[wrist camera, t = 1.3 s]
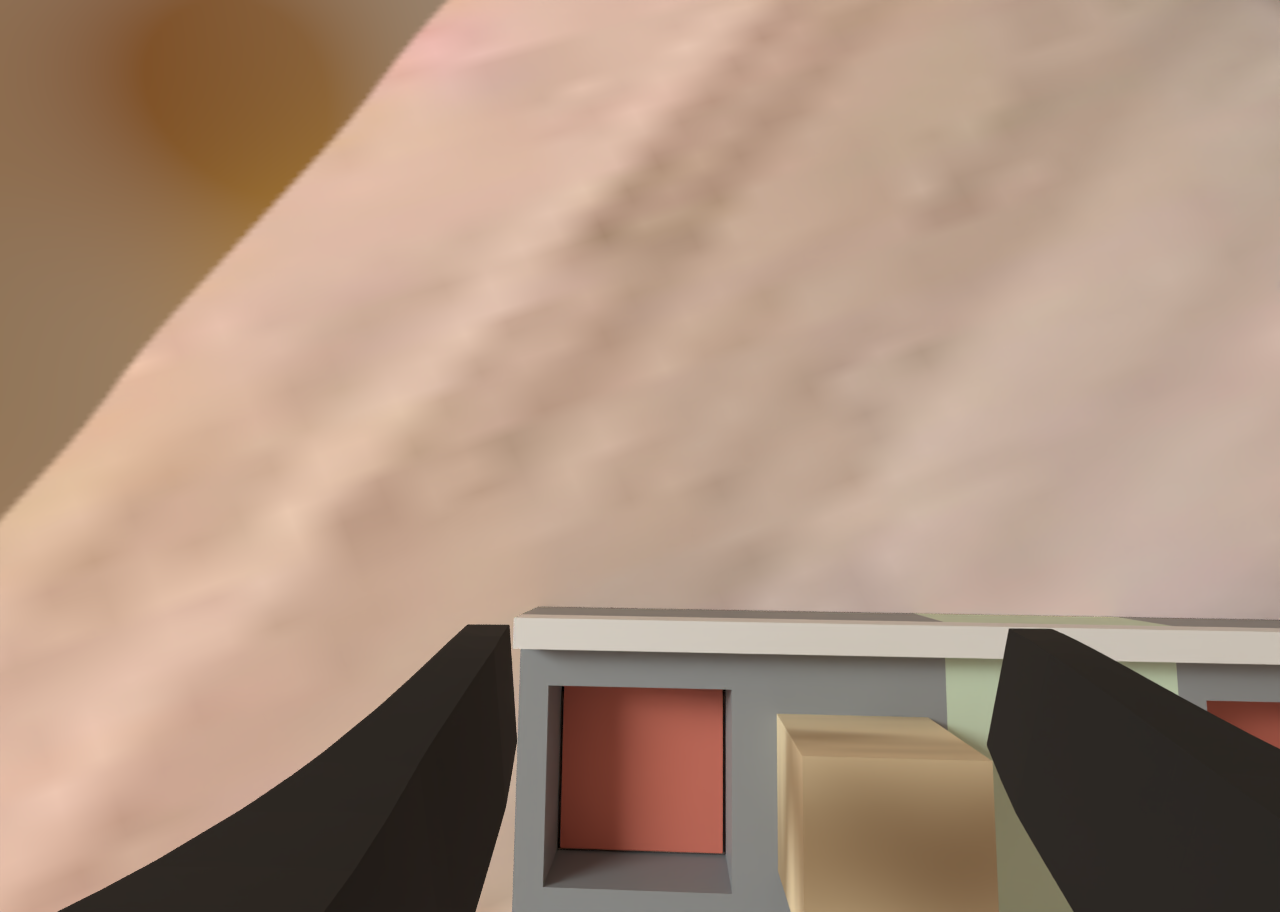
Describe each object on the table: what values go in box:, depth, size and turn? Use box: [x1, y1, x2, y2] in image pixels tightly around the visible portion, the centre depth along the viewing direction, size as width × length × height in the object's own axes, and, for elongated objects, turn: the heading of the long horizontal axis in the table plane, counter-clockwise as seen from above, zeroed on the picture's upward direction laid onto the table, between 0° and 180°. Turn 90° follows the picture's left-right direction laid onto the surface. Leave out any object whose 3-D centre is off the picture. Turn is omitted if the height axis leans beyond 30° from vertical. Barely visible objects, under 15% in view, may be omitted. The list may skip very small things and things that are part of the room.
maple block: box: [777, 714, 999, 912], centre depth 17 cm, size 4×4×4 cm
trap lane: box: [512, 607, 1280, 912], centre depth 20 cm, size 9×24×4 cm, turn 90°
